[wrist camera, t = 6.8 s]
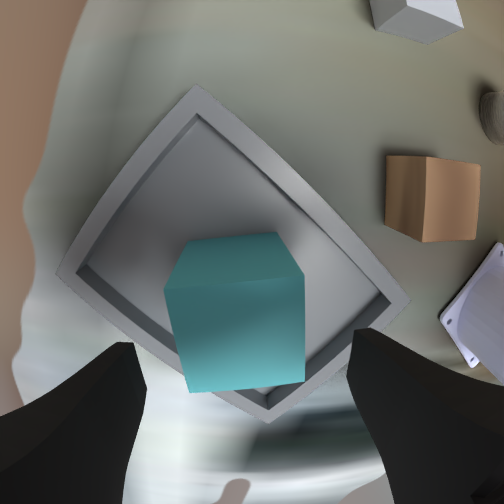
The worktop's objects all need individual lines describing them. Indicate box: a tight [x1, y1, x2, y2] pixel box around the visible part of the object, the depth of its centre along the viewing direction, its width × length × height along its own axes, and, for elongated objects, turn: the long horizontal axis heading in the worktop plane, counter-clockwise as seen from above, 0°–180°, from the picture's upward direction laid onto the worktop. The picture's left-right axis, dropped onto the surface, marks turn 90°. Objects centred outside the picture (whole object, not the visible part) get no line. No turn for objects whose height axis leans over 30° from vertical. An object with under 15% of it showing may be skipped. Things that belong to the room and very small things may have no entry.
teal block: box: [163, 232, 305, 393], centre depth 13 cm, size 4×4×6 cm
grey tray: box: [55, 84, 411, 424], centre depth 15 cm, size 16×12×2 cm
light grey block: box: [369, 0, 464, 45], centre depth 10 cm, size 4×4×4 cm
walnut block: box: [384, 156, 481, 242], centre depth 14 cm, size 4×4×4 cm
